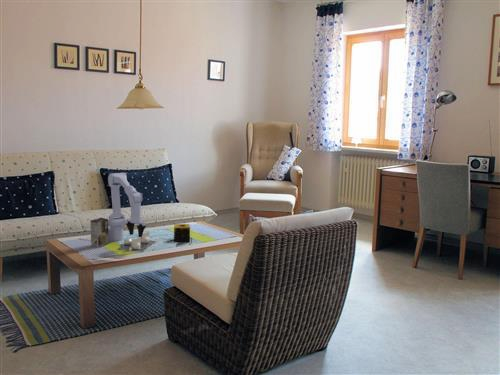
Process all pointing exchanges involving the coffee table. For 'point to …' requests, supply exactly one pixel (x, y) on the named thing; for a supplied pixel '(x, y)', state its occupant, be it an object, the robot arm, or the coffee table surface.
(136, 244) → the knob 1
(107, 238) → the coffee box
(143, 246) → the levelling base
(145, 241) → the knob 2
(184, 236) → the candle
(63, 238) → the coffee table surface
